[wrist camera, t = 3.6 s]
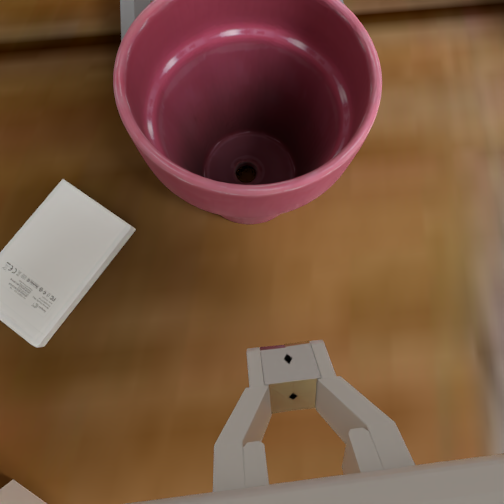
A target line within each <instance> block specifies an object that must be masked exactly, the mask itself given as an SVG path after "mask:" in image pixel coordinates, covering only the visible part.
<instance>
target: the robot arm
mask: <svg viewBox="0 0 504 504" xmlns="http://www.w3.org/2000/svg"><path fill="white" fill-rule="evenodd" d="M247 364H248V376H249V388H245V390H244V392H243V394H242V395H241V397H240V399H239V401H238V403H237V405H236V406H235V408H234V410H233V412H232V414H231V416H230V417H229V419H228V421H227V423H226V425H225V427H224V428H223V430H222V432H221V434H220V436H219V438H218V439H217V441H216V443H215V445H214V471H213V492H210V493H202V494H195V495H187V496H180V497H172V498H165V499H157V500H149V501H142V502H134V503H127V504H504V454H497V455H489V456H482V457H474V458H467V459H459V460H451V461H444V462H436V463H429V464H421V465H415V464H414V461H413V459H412V457H411V455H410V453H409V451H408V449H407V447H406V445H405V443H404V440H403V438H402V436H401V434H400V432H399V430H398V428H397V426H396V424H395V422H394V421H393V420H391V419H390V418H389V417H388V416H387V415H385V414H384V413H383V412H382V411H381V410H380V409H378V408H377V407H376V406H375V405H374V404H373V403H371V402H370V401H369V400H368V399H367V398H365V397H364V396H363V395H362V394H361V393H360V392H358V391H357V390H356V389H355V388H354V387H352V386H351V385H350V384H349V383H348V382H347V381H345V380H344V379H343V378H342V377H341V376H337V377H336V374H335V371H334V368H333V366H332V363H331V360H330V357H329V355H328V352H327V349H326V346H325V344H324V342H323V340H316V341H305V342H298V343H291V344H284V345H278V346H267V347H260V348H259V347H257V348H248V349H247ZM311 408H316V410H317V411H318V413H319V414H320V415H321V416H322V417H323V418H324V419H325V421H326V422H327V423H328V424H329V425H330V426H331V428H332V429H333V430H334V431H335V432H336V433H337V435H338V436H339V437H340V438H341V439H342V440H343V442H344V443H345V444H346V448H345V453H344V458H343V463H342V469H343V473H344V475H338V476H330V477H323V478H315V479H308V480H300V481H293V482H285V483H277V484H270V485H269V480H268V472H267V464H266V456H265V447H264V444H263V443H262V442H261V441H262V439H263V436H264V433H265V431H266V428H267V426H268V423H269V420H270V418H271V414H272V413H279V412H285V411H291V410H301V409H311Z"/></svg>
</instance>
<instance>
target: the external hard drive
mask: <svg viewBox="0 0 504 504" xmlns="http://www.w3.org/2000/svg"><path fill="white" fill-rule="evenodd" d="M135 230H136V229H135V228H134V227H132V226H131V225H130V224H128V223H127V222H125V221H124V220H122V219H121V218H119V217H118V216H116V215H115V214H114V213H112V212H111V211H109V210H108V209H106V208H105V207H103V206H102V205H100V204H99V203H98V202H96V201H95V200H93V199H92V198H90V197H89V196H87V195H86V194H84V193H83V192H81V191H80V190H79V189H77V188H76V187H74V186H73V185H71V184H70V183H68V182H67V181H66V180H64V179H62V180H61V181H60V183H59V184H58V185H57V186H56V187H55V188H54V190H53V191H52V192H51V193H50V194H49V195H48V197H47V198H46V199H45V200H44V201H43V203H42V204H41V205H40V206H39V207H38V208H37V210H36V211H35V212H34V213H33V214H32V216H31V217H30V218H29V219H28V220H27V221H26V223H25V224H24V225H23V226H22V227H21V229H20V230H19V231H18V232H17V233H16V234H15V236H14V237H13V238H12V239H11V240H10V241H9V243H8V244H7V245H6V246H5V247H4V249H3V250H2V251H1V252H0V320H1V321H2V322H3V323H5V324H6V325H7V326H8V327H10V328H11V329H12V330H13V331H15V332H16V333H17V334H18V335H20V336H21V337H22V338H23V339H25V340H26V341H27V342H28V343H30V344H31V345H33V346H35V347H37V348H38V347H44V346H45V345H46V344H47V343H48V341H49V340H50V339H51V338H52V336H53V335H54V334H55V332H56V331H57V330H58V328H59V327H60V326H61V325H62V323H63V322H64V321H65V320H66V318H67V317H68V316H69V314H70V313H71V312H72V311H73V309H74V308H75V307H76V306H77V304H78V303H79V302H80V301H81V299H82V298H83V297H84V295H85V294H86V293H87V292H88V290H89V289H90V288H91V287H92V285H93V284H94V283H95V281H96V280H97V279H98V278H99V276H100V275H101V274H102V272H103V271H104V270H105V269H106V267H107V266H108V265H109V264H110V262H111V261H112V260H113V258H114V257H115V256H116V255H117V253H118V252H119V251H120V250H121V248H122V247H123V246H124V245H125V243H126V242H127V241H128V239H129V238H130V237H131V236H132V234H133V233H134V232H135Z"/></svg>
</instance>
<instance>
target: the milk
mask: <svg viewBox="0 0 504 504" xmlns="http://www.w3.org/2000/svg"><path fill="white" fill-rule="evenodd" d="M0 504H47V503H46V502H44V501H43V500H41V499H40V498H39V497H37V496H36V495H34V494H33V493H32V492H30V491H29V490H27V489H26V488H25V487H23V486H22V485H20V484H19V483H18V482H16V481H15V480H12V481H10V482H9V483H8V484H6V485H5V486H4V487H2V488H1V489H0Z"/></svg>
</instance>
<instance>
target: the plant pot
mask: <svg viewBox="0 0 504 504" xmlns="http://www.w3.org/2000/svg"><path fill="white" fill-rule="evenodd" d="M113 87H114V96H115V101H116V105H117V108H118V112H119V115H120V117H121V120H122V122H123V124H124V126H125V128H126V130H127V132H128V133H129V135H130V137H131V139H132V140H133V142H134V144H135V146H136V147H137V149H138V151H139V152H140V154H141V155H142V157H143V159H144V160H145V162H146V163H147V164H148V166H149V167H150V169H151V170H152V171H153V173H154V174H155V175H156V176H157V178H158V179H159V180H160V181H161V182H162V183H163V184H164V185H165V186H166V187H167V188H168V189H169V190H170V191H172V192H173V193H174V194H176V195H177V196H178V197H180V198H181V199H183V200H185V201H186V202H188V203H190V204H192V205H194V206H196V207H198V208H200V209H203V210H205V211H208V212H211V213H215V214H219V215H221V216H222V217H224V218H226V219H228V220H230V221H233V222H236V223H241V224H257V223H263V222H266V221H269V220H271V219H273V218H275V217H277V216H278V215H280V214H282V213H285V212H289V211H292V210H294V209H297V208H299V207H301V206H303V205H305V204H307V203H309V202H311V201H312V200H314V199H316V198H317V197H319V196H320V195H321V194H323V193H324V192H325V191H326V190H327V189H329V188H330V187H331V186H332V185H333V184H334V183H335V182H336V181H337V180H338V178H339V177H340V176H341V175H342V174H343V172H344V171H345V169H346V168H347V167H348V165H349V164H350V162H351V161H352V160H353V158H354V157H355V155H356V154H357V152H358V151H359V149H360V148H361V146H362V144H363V142H364V141H365V139H366V137H367V135H368V133H369V131H370V129H371V127H372V125H373V123H374V121H375V118H376V115H377V111H378V108H379V104H380V99H381V92H382V75H381V67H380V62H379V58H378V55H377V52H376V49H375V47H374V44H373V42H372V40H371V38H370V36H369V34H368V32H367V31H366V29H365V28H364V26H363V25H362V23H361V22H360V21H359V20H358V18H357V17H356V16H355V15H354V14H353V13H352V12H351V11H350V10H349V9H348V8H347V7H346V6H345V5H344V4H343V3H342V2H341V1H340V0H154V1H152V2H151V3H150V4H149V5H148V6H147V7H146V8H145V9H144V10H143V11H142V12H141V13H140V14H139V15H138V16H137V18H136V19H135V20H134V21H133V23H132V24H131V26H130V27H129V29H128V30H127V32H126V34H125V36H124V38H123V39H122V42H121V44H120V46H119V49H118V52H117V56H116V60H115V65H114V73H113ZM246 165H248V166H251V167H253V168H254V169H255V171H256V177H255V179H254V180H253V181H251V182H247V183H244V182H241V181H240V180H239V179H238V178H237V176H236V171H237V170H238V169H239V168H240V167H242V166H246Z"/></svg>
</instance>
